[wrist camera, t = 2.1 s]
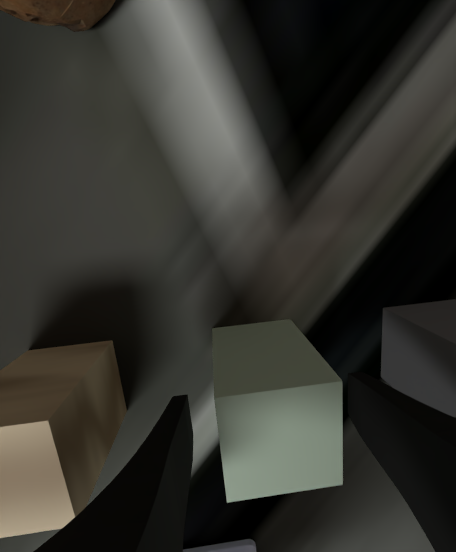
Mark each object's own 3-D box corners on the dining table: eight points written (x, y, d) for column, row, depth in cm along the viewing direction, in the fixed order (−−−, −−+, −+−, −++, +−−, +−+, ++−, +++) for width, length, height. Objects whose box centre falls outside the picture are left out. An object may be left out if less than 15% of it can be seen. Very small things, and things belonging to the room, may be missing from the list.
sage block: (293, 388, 16) (342, 484, 10) (219, 398, 16) (226, 502, 10) (290, 318, 15) (342, 380, 9) (211, 328, 15) (214, 398, 9)
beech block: (127, 410, 15) (77, 525, 10) (48, 420, 15) (-52, 545, 9) (112, 340, 15) (47, 420, 9) (28, 350, 14) (-97, 440, 8)
